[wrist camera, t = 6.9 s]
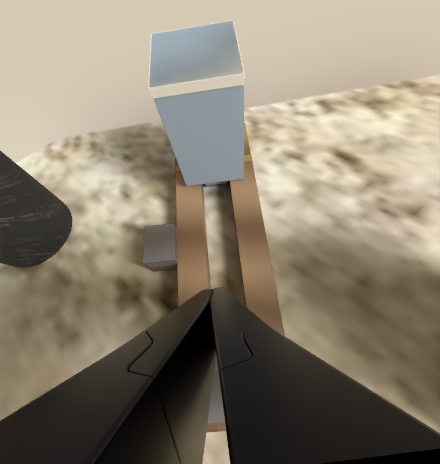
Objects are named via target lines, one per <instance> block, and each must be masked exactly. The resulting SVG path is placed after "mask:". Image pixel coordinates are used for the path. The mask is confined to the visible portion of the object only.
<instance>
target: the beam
mask: <svg viewBox="0 0 440 464" xmlns="http://www.w3.org/2000/svg"><path fill="white" fill-rule="evenodd" d="M175 161H176V165H175V171H176V214H177V227H176V225H175V224H174V223H171V224H163V225H155V226H147V227H144V247H143V264H145V265H146V266H147V267H149V268H150V269H151V270H153V271H163V270H171V269H178V307H179V306H180V305H182V304H183V303H184V302H186V301H187V300H189V299H190V298H191V297H193V296H194V295H196V294H197V293H199V292H200V291H201V290H203V289H210V276H209V263H208V249H207V236H206V222H205V209H204V196H203V184H200V185H192V186H186V183H185V180H184V178H183V175H182V172H181V170H180V167H179V165H178V162H177V159H176V157H175ZM230 188H231V195H232V203H233V211H234V218H235V226H236V233H237V241H238V249H239V256H240V264H241V272H242V279H243V287H244V294H245V302H246V307H248V308H249V309H250V310H251V311H252V312H253V313H255V314H256V315H257V316H258V317H259V318H261V319H262V320H263V321H265V322H266V323H267V324H268V325H270V326H271V327H272V328H273V329H275V330H276V331H277V332H279V333H280V334H282V335H283V336H285V335H284V330H283V325H282V319H281V314H280V309H279V303H278V298H277V292H276V287H275V282H274V276H273V271H272V266H271V260H270V255H269V250H268V244H267V239H266V233H265V228H264V223H263V217H262V212H261V207H260V201H259V196H258V190H257V185H256V180H255V174H254V169H253V164H252V157H251V153H250V148H249V142H248V137H247V131H246V126H245V123H244V179H238V180H230ZM217 431H226V425H225V417H224V409H223V402H222V394H221V386H220V378H219V370H218V362H217V354H216V360H215V368H214V376H213V383H212V391H211V399H210V407H209V414H208V422H207V430H206V432H217Z"/></svg>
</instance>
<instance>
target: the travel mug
mask: <svg viewBox="0 0 440 464" xmlns="http://www.w3.org/2000/svg"><path fill="white" fill-rule="evenodd" d="M71 227H72V216H71V212H70V210H69V209H68V207H67V206H66V205H65V204H64V203H63V202H62V201H61V200H60V199H58V198H57V197H56V196H55V195H54V194H53V193H51V192H50V191H49V190H48V189H46V188H45V187H44V186H43V185H42V184H40V183H39V182H38V181H37V180H35V179H34V178H33V177H32V176H30V175H29V174H28V173H27V172H26V171H24V170H23V169H22V168H21V167H19V166H18V165H17V164H16V163H15V162H13V161H12V160H11V159H10V158H8V157H7V156H6V155H5V154H4V153H2V152H1V151H0V263H3V264H7V265H11V266H16V267H29V266H34V265H37V264H39V263H42V262H44V261H45V260H47V259H49V258H50V257H52V256H53V255H54V254H55V253H56V252H57V251H58V250H59V249H60V248H61V247H62V246H63V244H64V243H65V242H66V240H67V238H68V236H69V234H70V231H71Z"/></svg>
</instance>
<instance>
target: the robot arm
mask: <svg viewBox="0 0 440 464" xmlns="http://www.w3.org/2000/svg"><path fill="white" fill-rule="evenodd" d="M216 354H217V362H218V370H219V378H220V386H221V394H222V402H223V409H224V417H225V425H226V433H227V441H228V448H229V456H230V464H440V433H438V432H437V431H435V430H434V429H432V428H430V427H429V426H427V425H426V424H424V423H422V422H421V421H419V420H418V419H416V418H414V417H413V416H411V415H410V414H408V413H406V412H405V411H403V410H402V409H400V408H398V407H397V406H395V405H394V404H392V403H390V402H389V401H387V400H386V399H384V398H382V397H381V396H379V395H378V394H376V393H374V392H373V391H371V390H370V389H368V388H366V387H365V386H363V385H362V384H360V383H358V382H357V381H355V380H354V379H352V378H350V377H349V376H347V375H346V374H344V373H342V372H341V371H339V370H338V369H336V368H334V367H333V366H331V365H330V364H328V363H326V362H325V361H323V360H322V359H320V358H318V357H317V356H315V355H314V354H312V353H310V352H309V351H307V350H306V349H304V348H302V347H301V346H299V345H298V344H296V343H294V342H293V341H291V340H290V339H288V338H286V337H285V336H283V335H282V334H280V333H279V332H277V331H276V330H275V329H273V328H272V327H271V326H270V325H268V324H267V323H266V322H265V321H263V320H262V319H261V318H259V317H258V316H257V315H256V314H255V313H253V312H252V311H251V310H250V309H249V308H248V307H246V306H245V305H244V304H243V303H242V302H241V301H239V300H238V299H237V298H236V297H235V296H233V295H232V294H231V293H230V292H229V291H228V290H226V289H225V288H224V287H220V288H214V289H203V290H201V291H200V292H199V293H197V294H196V295H194V296H193V297H191V298H190V299H189V300H187V301H186V302H184V303H183V304H182V305H180V306H179V307H177V308H176V309H175V310H173V311H172V312H170V313H169V314H168V315H166V316H165V317H163V318H162V319H160V320H159V321H158V322H156V323H155V324H153V325H152V326H151V327H149V328H148V329H146V330H145V331H143V332H141V333H140V334H139V335H137V336H136V337H134V338H133V339H131V340H130V341H128V342H127V343H126V344H124V345H123V346H121V347H119V348H118V349H116V350H115V351H113V352H111V353H110V354H108V355H107V356H105V357H104V358H102V359H100V360H99V361H97V362H95V363H94V364H92V365H90V366H89V367H87V368H86V369H84V370H82V371H81V372H79V373H77V374H76V375H74V376H72V377H71V378H69V379H68V380H66V381H64V382H63V383H61V384H59V385H58V386H56V387H55V388H53V389H51V390H50V391H48V392H46V393H45V394H43V395H41V396H40V397H38V398H37V399H35V400H33V401H32V402H30V403H28V404H27V405H25V406H23V407H22V408H20V409H19V410H17V411H15V412H14V413H12V414H10V415H9V416H7V417H5V418H4V419H2V420H1V421H0V464H202V461H203V453H204V445H205V438H206V430H207V422H208V414H209V407H210V399H211V391H212V383H213V376H214V368H215V360H216Z"/></svg>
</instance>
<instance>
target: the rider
mask: <svg viewBox="0 0 440 464" xmlns="http://www.w3.org/2000/svg"><path fill="white" fill-rule="evenodd" d="M150 45H151V46H150V65H149V86H148V89H149V91H150V94H151V97H152V99H154V101H155V104H156V106H157V109H158V112H159V114H160V117H161V120H162V122H163V125H164V128H165V130H166V133H167V136H168V138H169V141H170V143H171V146H172V149H173V151H174V154H175V157H176V159H177V162H178V165H179V167H180V170H181V172H182V175H183V178H184V180H185V183H186V186H192V185H200V184H206V186H208V185H216V184H224V183H227V181H230V180H238V179H244V85H245V73H244V68H243V63H242V58H241V53H240V49H239V45H238V39H237V34H236V30H235V25H234V20H232V21H225V22H219V23H213V24H207V25H201V26H195V27H189V28H183V29H177V30H171V31H165V32H158V33H152V34H151V44H150Z"/></svg>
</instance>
